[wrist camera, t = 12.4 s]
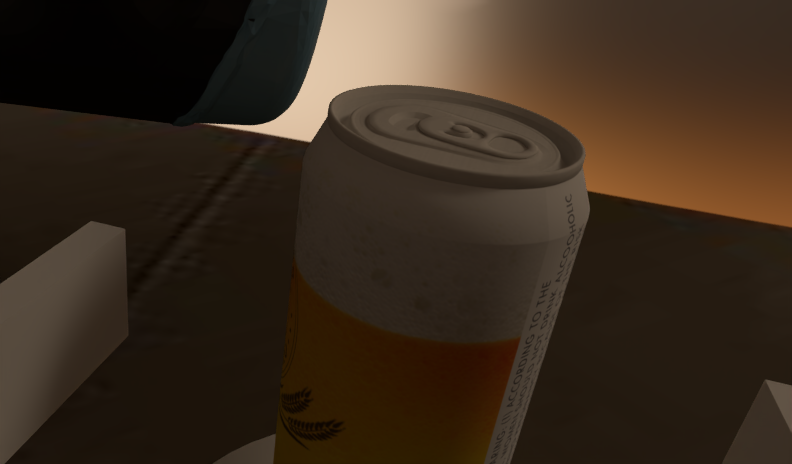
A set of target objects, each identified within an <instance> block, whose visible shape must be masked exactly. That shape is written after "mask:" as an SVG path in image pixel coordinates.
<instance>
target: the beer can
mask: <svg viewBox="0 0 792 464" xmlns="http://www.w3.org/2000/svg"><path fill="white" fill-rule="evenodd" d="M584 159H585V148H584V146H583V145H582V143H581V142H580V140H579V139H578V138H577V137H576V136H575V135H573V134H572V133H571V132H570V131H568V130H567V129H565V128H564V127H562V126H561V125H559V124H557V123H555V122H553V121H552V120H550V119H548V118H546V117H543V116H541V115H539V114H537V113H534V112H532V111H529V110H527V109H524V108H521V107H518V106H515V105H512V104H509V103H506V102H502V101H499V100H495V99H492V98H488V97H484V96H480V95H475V94H471V93H465V92H460V91H455V90H448V89H441V88H434V87H424V86H412V85H411V86H410V85H378V86H368V87H362V88H357V89H353V90H349V91H346V92H343V93H341V94H339V95H338V96H336V97H335V98H334V99H332V101H331V102H330V104H329V109H328V117H327V118H326V120H325V121H324V123H323V124H322V126H321V128H320V129H319V131H318V132H317V134H316V136H315V137H314V139H313V140H312V142H311V143H310V145H309V146H308V148H307V149H306V151H305V153H304V157H303V166H302V176H301V186H300V196H299V206H298V216H297V227H296V237H295V247H294V257H293V267H292V277H291V287H290V297H289V307H288V317H287V327H286V337H285V347H284V358H283V368H282V378H281V388H280V398H279V408H278V418H277V428H276V438H275V448H274V458H273V464H510V462H511V459H512V456H513V453H514V449H515V446H516V443H517V440H518V437H519V434H520V431H521V427H522V424H523V421H524V418H525V415H526V412H527V408H528V405H529V402H530V399H531V396H532V393H533V390H534V386H535V383H536V380H537V377H538V374H539V371H540V368H541V364H542V361H543V358H544V355H545V352H546V349H547V346H548V342H549V339H550V336H551V333H552V330H553V327H554V324H555V320H556V317H557V314H558V311H559V308H560V305H561V302H562V298H563V295H564V292H565V289H566V286H567V283H568V279H569V276H570V273H571V270H572V267H573V264H574V261H575V257H576V254H577V251H578V248H579V245H580V242H581V239H582V235H583V232H584V229H585V226H586V223H587V220H588V217H589V212H590V206H589V200H588V194H587V189H586V184H585V178H584V172H583V167H582V166H583V163H584Z"/></svg>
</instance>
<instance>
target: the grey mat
mask: <svg viewBox="0 0 792 464" xmlns="http://www.w3.org/2000/svg"><path fill="white" fill-rule="evenodd" d="M275 438H276V434H274V435H271V436H268V437H266V438H263V439H260V440H257V441H254V442H252V443H250V444H247V445H245V446H243V447H241V448H239V449H237V450H235V451H233V452H231V453H229V454H227V455H226V456H224V457H222V458H221V459H219V460H218V461H216V462H214V463H213V464H273V458H274V448H275Z"/></svg>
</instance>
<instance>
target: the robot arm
mask: <svg viewBox="0 0 792 464" xmlns="http://www.w3.org/2000/svg"><path fill="white" fill-rule="evenodd" d="M326 5H327V0H0V103H7V104H16V105H24V106H32V107H40V108H48V109H57V110H65V111H73V112H81V113H89V114H98V115H106V116H114V117H122V118H130V119H139V120H147V121H155V122H163V123H170V124H173V125H174V126H180V127H183V126H189V125H192V124H194V123H210V124H234V125H258V124H263V123H266V122H270V121H272V120H274V119H276V118H277V117H279V116H280V115H281V114H282V113H284V112H285V111H286V110H287V109H288V108H289V107H290V105H291V104H292V103H293V101H294V100H295V98H296V96H297V95H298V93H299V91H300V89H301V86H302V84H303V82H304V79H305V77H306V74H307V71H308V68H309V65H310V63H311V59H312V56H313V53H314V50H315V46H316V43H317V39H318V35H319V32H320V27H321V24H322V20H323V16H324V12H325V8H326ZM127 336H128V309H127V276H126V242H125V229H123V228H119V227H114V226H110V225H106V224H102V223H97V222H93V221H91V222H89V223H88V224H86V225H85V226H83V227H82V228H81V229H79V230H78V231H76V232H75V233H73V234H72V235H70V236H69V237H68V238H66V239H65V240H63V241H62V242H60V243H59V244H57V245H56V246H54V247H53V248H52V249H50V250H49V251H47V252H46V253H44V254H43V255H41V256H40V257H39V258H37V259H36V260H34V261H33V262H31V263H30V264H28V265H27V266H26V267H24V268H23V269H21V270H20V271H18V272H17V273H15V274H14V275H13V276H11V277H10V278H8V279H7V280H5V281H4V282H2V283H1V282H0V464H5V463H6V462H7V461H8V460H9V459H10V458H11V456H12V455H13V454H14V453H15V452H16V451H17V450H18V449H19V448H20V447H21V446H22V445H23V444H24V443H25V442H26V441H27V440H28V439H29V438H30V437H31V436H32V435H33V434H34V433H35V432H36V431H37V430H38V429H39V427H40V426H41V425H42V424H43V423H44V422H45V421H46V420H47V419H48V418H49V417H50V416H51V415H52V414H53V413H54V412H55V411H56V410H57V409H58V408H59V407H60V406H61V405H62V404H63V403H64V402H65V401H66V400H67V398H68V397H69V396H70V395H71V394H72V393H73V392H74V391H75V390H76V389H77V388H78V387H79V386H80V385H81V384H82V383H83V382H84V381H85V380H86V379H87V378H88V377H89V376H90V375H91V374H92V373H93V372H94V371H95V369H96V368H97V367H98V366H99V365H100V364H101V363H102V362H103V361H104V360H105V359H106V358H107V357H108V356H109V355H110V354H111V353H112V352H113V351H114V350H115V349H116V348H117V347H118V346H119V345H120V344H121V343H122V342H123V341H124V339H125V338H126V337H127ZM722 464H792V386H791V385H786V384H782V383H778V382H774V381H769V380H765V381H764V383H763V385H762V386H761V388H760V390H759V392H758V394H757V396H756V398H755V400H754V402H753V404H752V406H751V408H750V410H749V412H748V414H747V416H746V418H745V420H744V422H743V424H742V425H741V427H740V429H739V431H738V433H737V435H736V437H735V439H734V441H733V443H732V445H731V447H730V449H729V451H728V453H727V455H726V457H725V459H724V461H723V463H722Z"/></svg>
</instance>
